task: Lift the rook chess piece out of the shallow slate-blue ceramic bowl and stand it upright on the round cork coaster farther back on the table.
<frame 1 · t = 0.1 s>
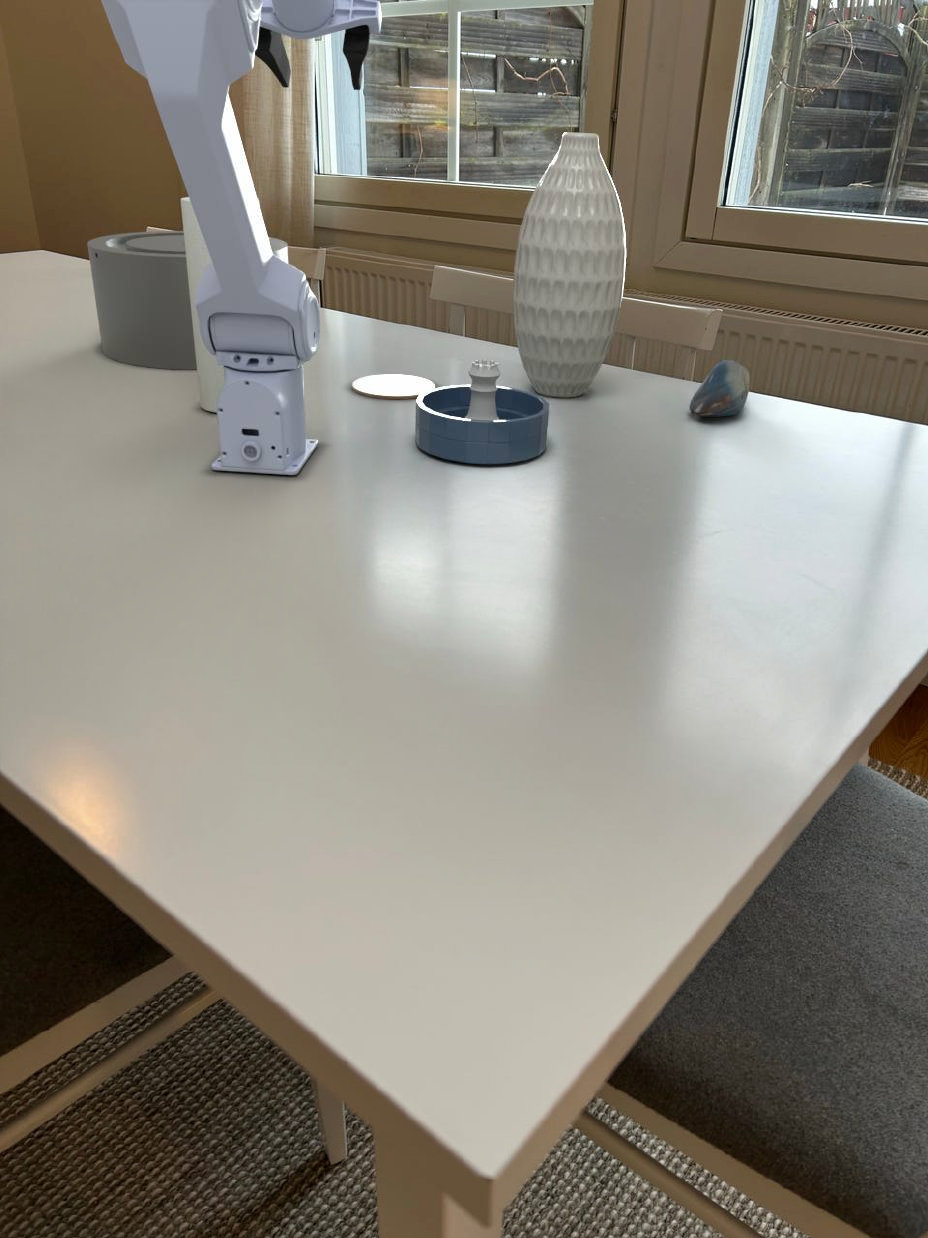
hand: (322, 80, 101), 32 cm above the table, tool tilted 50°, fingers open, 7 cm apart
seashell: (722, 416, 110), on the table
coaster: (393, 387, 115), on the table
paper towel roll: (234, 408, 105), on the table
container: (199, 348, 130), on the table
bowl: (480, 445, 97), on the table
rook chess piece: (480, 443, 96), resting on bowl
vase: (558, 392, 116), on the table
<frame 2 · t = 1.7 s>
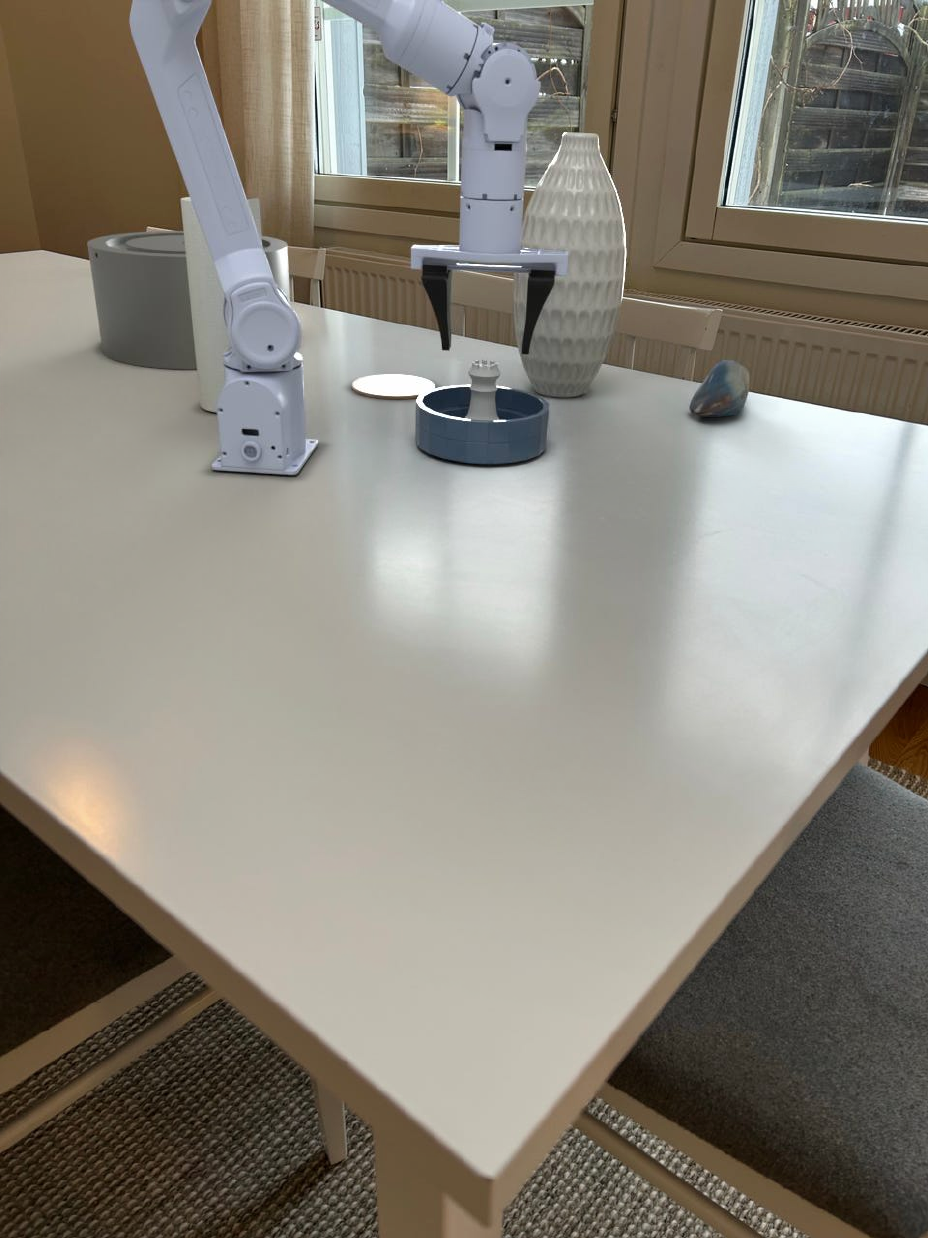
hand: (485, 350, 92), 10 cm above the table, tool pointing down, fingers open, 7 cm apart
nothing on the table moved.
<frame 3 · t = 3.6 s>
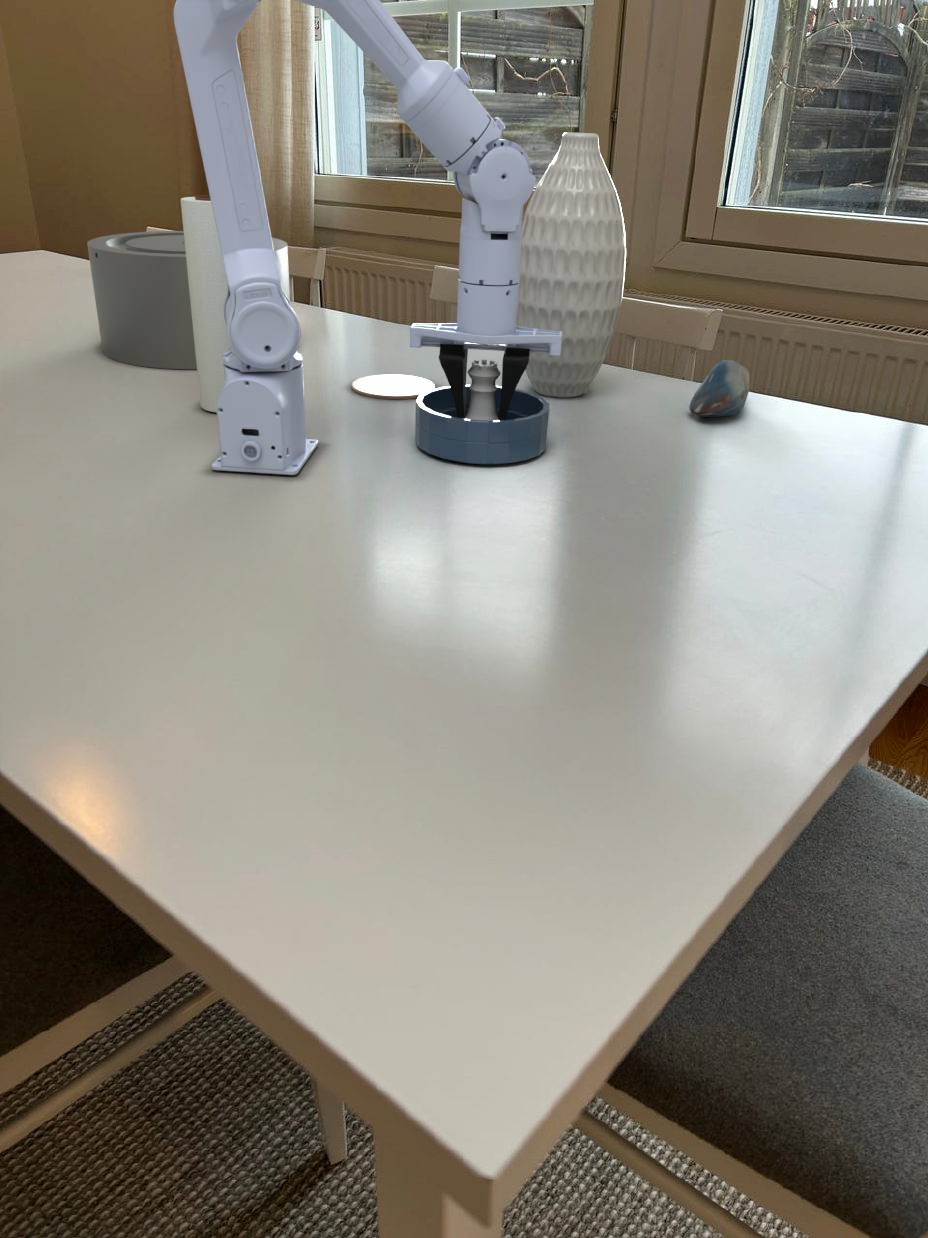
hand: (481, 422, 95), 2 cm above the table, tool pointing down, fingers closed on rook chess piece, 3 cm apart
rook chess piece: (480, 443, 96), resting on bowl, touching gripper
everything else where it was.
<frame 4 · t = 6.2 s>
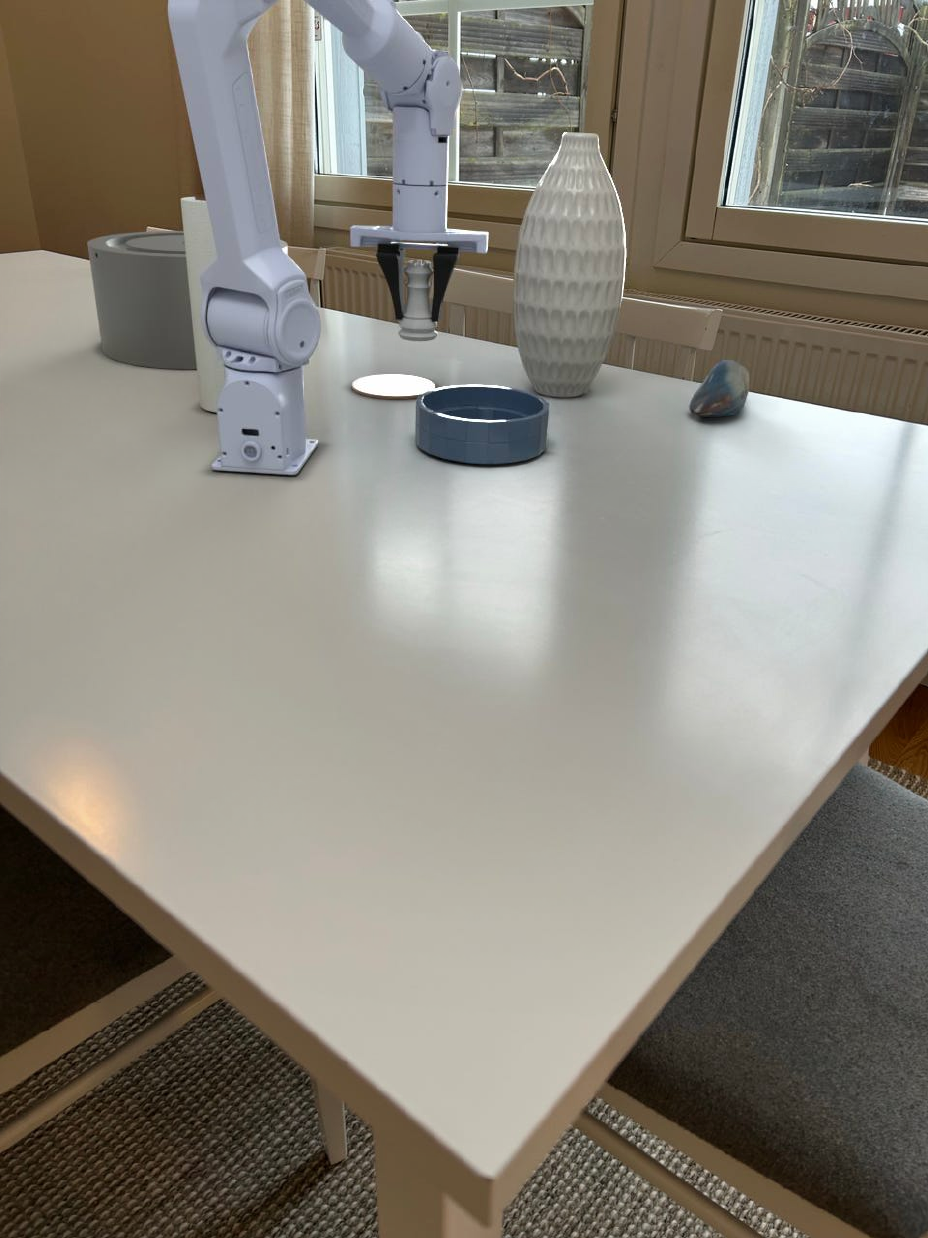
hand: (418, 318, 105), 9 cm above the table, tool pointing down, fingers closed on rook chess piece, 3 cm apart
rook chess piece: (417, 339, 106), point 7 cm above the table, touching gripper
everything else where it was.
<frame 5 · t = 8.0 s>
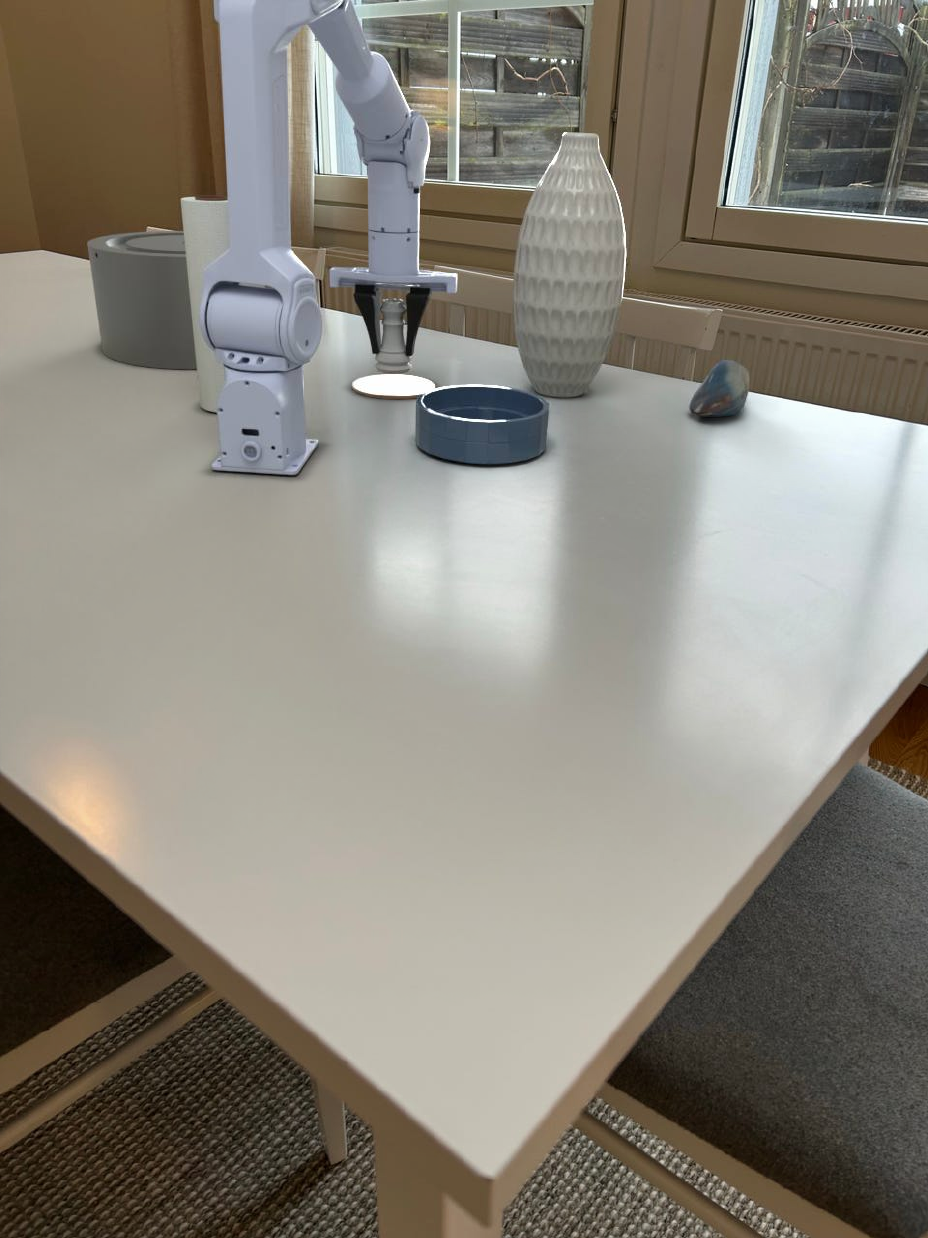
hand: (393, 353, 113), 4 cm above the table, tool pointing down, fingers closed on rook chess piece, 3 cm apart
rook chess piece: (393, 371, 114), point 2 cm above the table, touching gripper
everything else where it was.
when the fingers open (2 cm above the table, at t = 8.9 s): rook chess piece stays where it is, resting on coaster.
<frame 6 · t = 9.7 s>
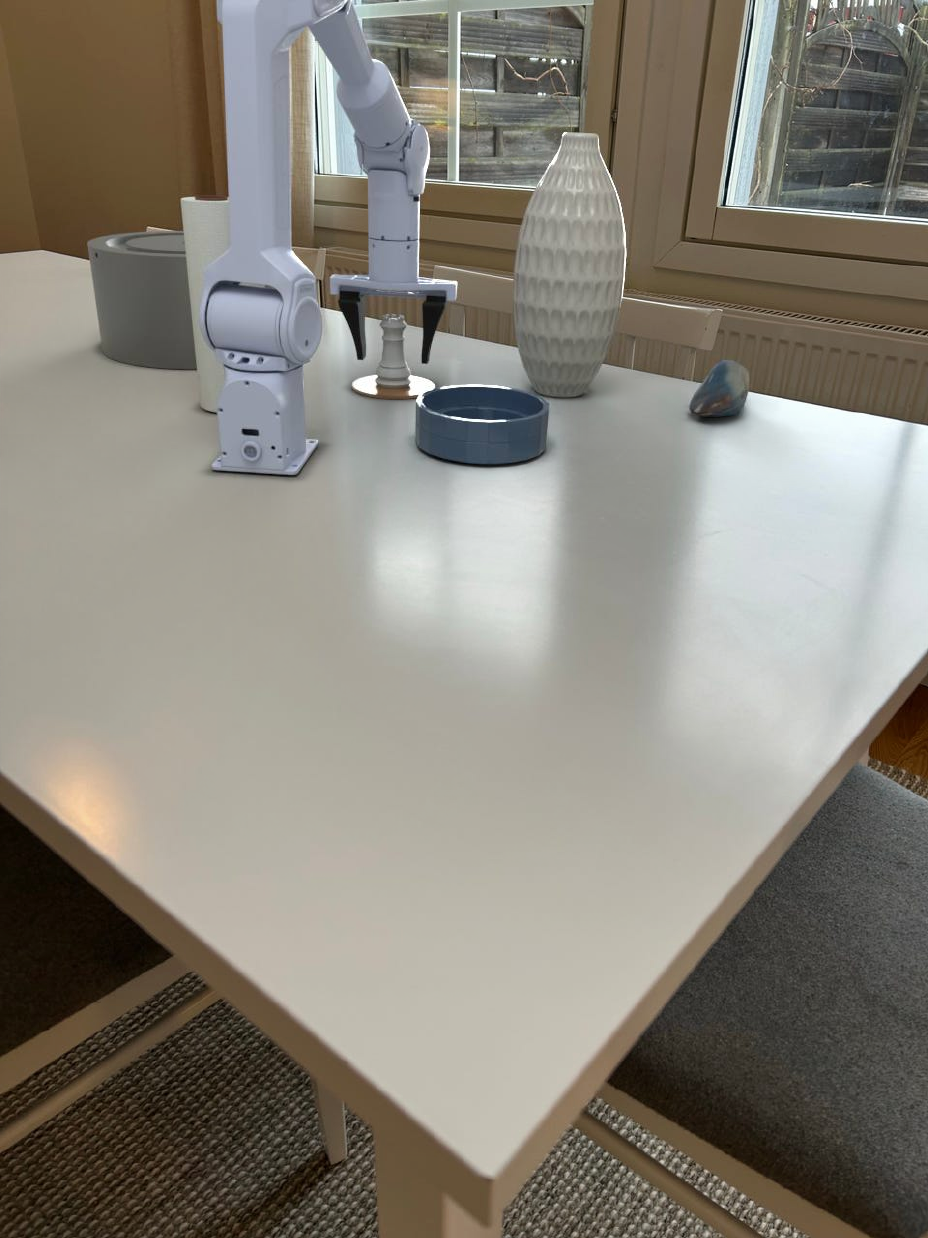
hand: (393, 359, 113), 3 cm above the table, tool pointing down, fingers open, 7 cm apart
rook chess piece: (393, 386, 115), resting on coaster
everything else where it was.
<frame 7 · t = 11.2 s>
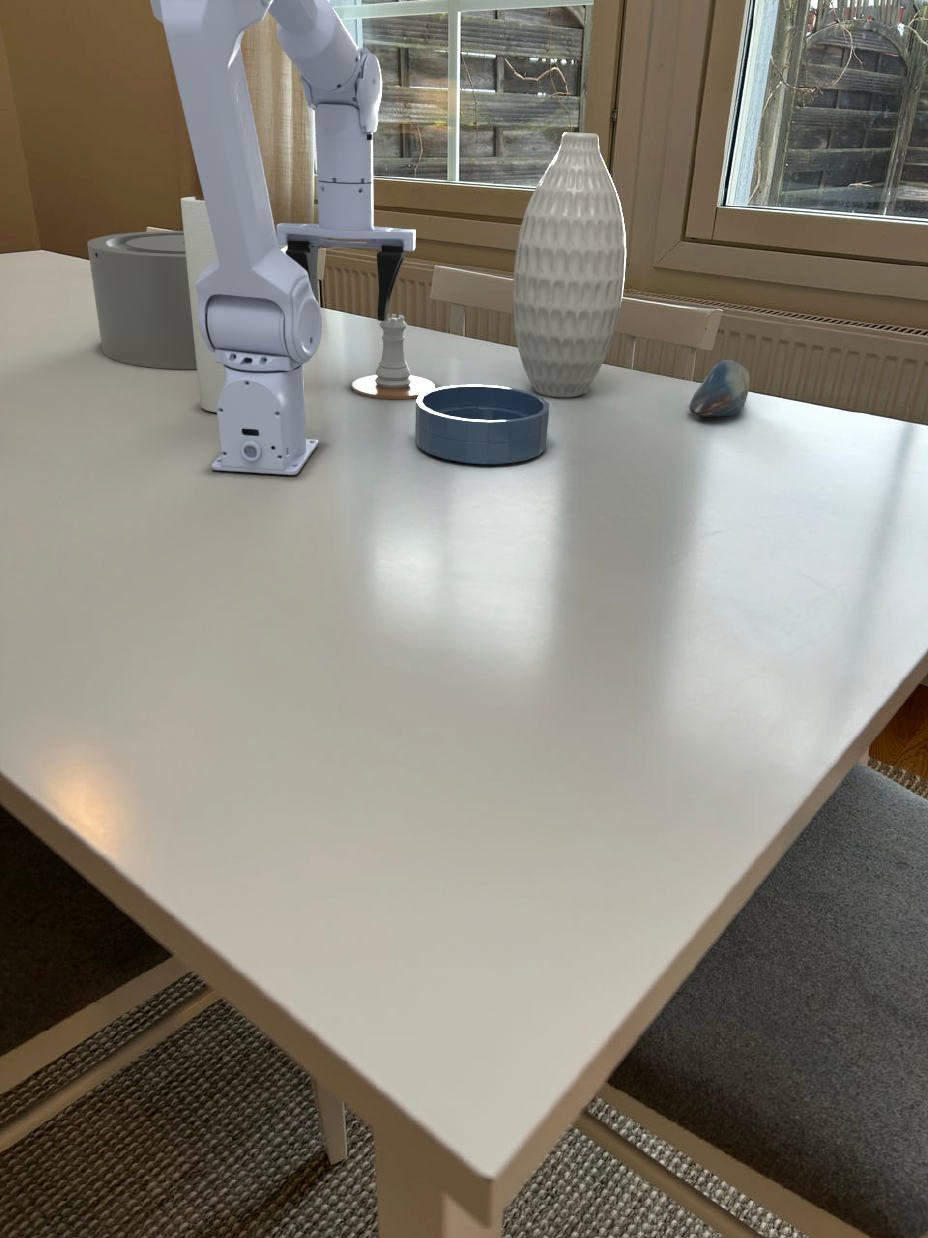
hand: (348, 317, 104), 9 cm above the table, tool pointing down, fingers open, 7 cm apart
nothing on the table moved.
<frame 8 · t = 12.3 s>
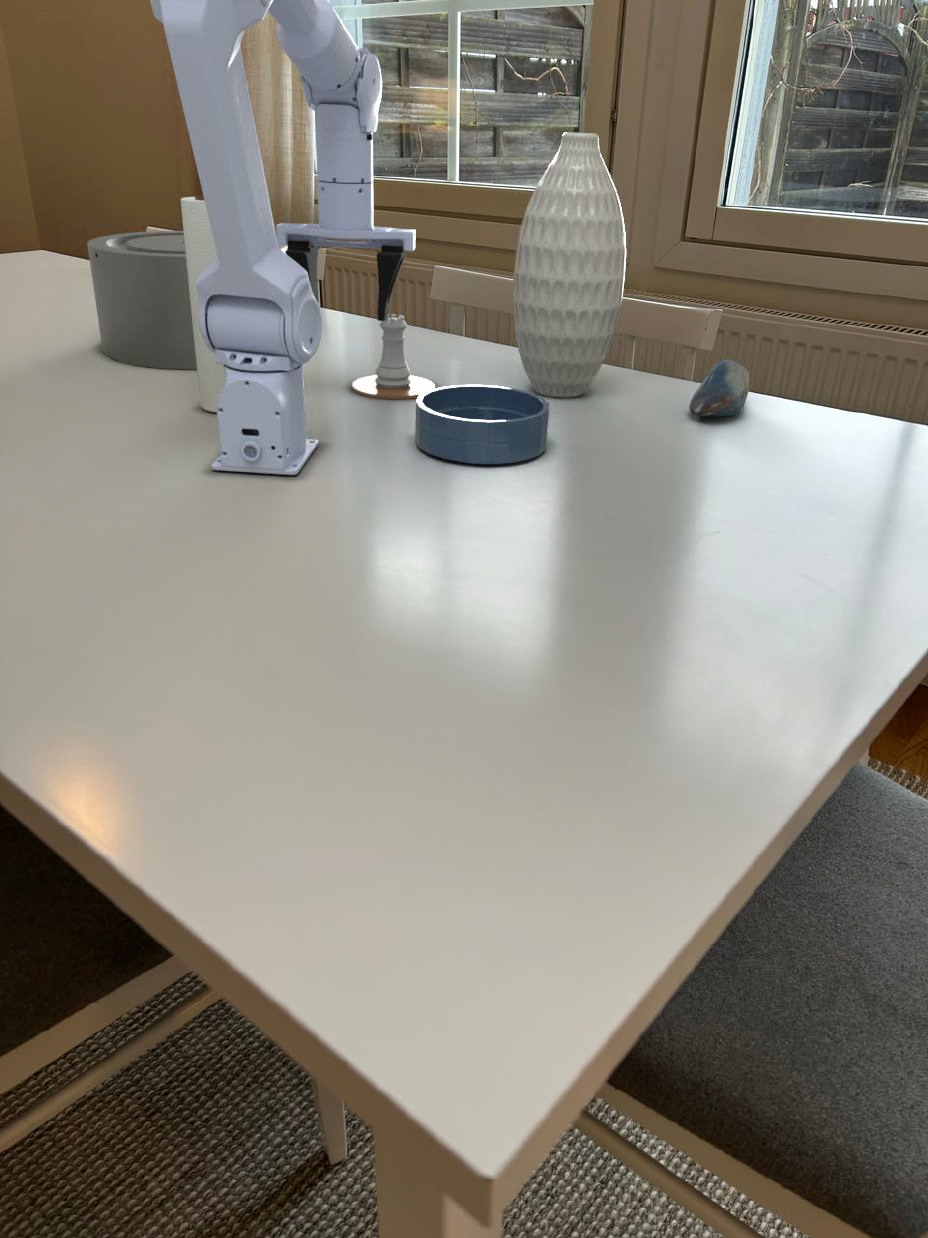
hand: (348, 317, 104), 9 cm above the table, tool pointing down, fingers open, 7 cm apart
nothing on the table moved.
at the end: rook chess piece 0.0 cm off-centre on the coaster, point 0.2 cm above the coaster's base; rook chess piece tilted 0°; rook chess piece touching coaster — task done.
